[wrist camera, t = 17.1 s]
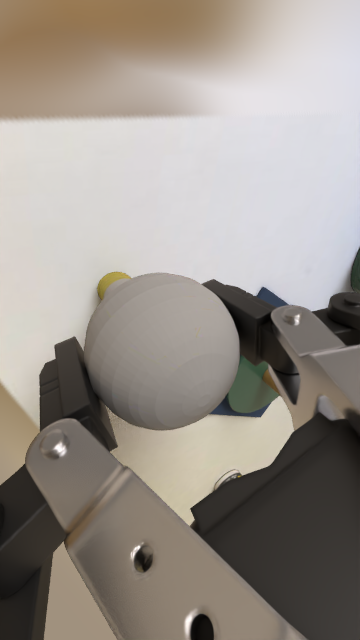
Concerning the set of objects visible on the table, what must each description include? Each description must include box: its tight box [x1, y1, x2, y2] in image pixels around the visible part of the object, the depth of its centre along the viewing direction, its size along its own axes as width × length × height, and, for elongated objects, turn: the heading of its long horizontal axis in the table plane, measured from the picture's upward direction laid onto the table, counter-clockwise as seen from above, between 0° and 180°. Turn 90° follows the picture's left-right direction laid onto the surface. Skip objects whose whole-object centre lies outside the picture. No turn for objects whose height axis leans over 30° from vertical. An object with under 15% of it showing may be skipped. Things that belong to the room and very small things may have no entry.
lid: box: [226, 355, 282, 413], centre depth 24 cm, size 11×11×6 cm
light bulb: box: [84, 272, 240, 430], centre depth 10 cm, size 6×6×10 cm
